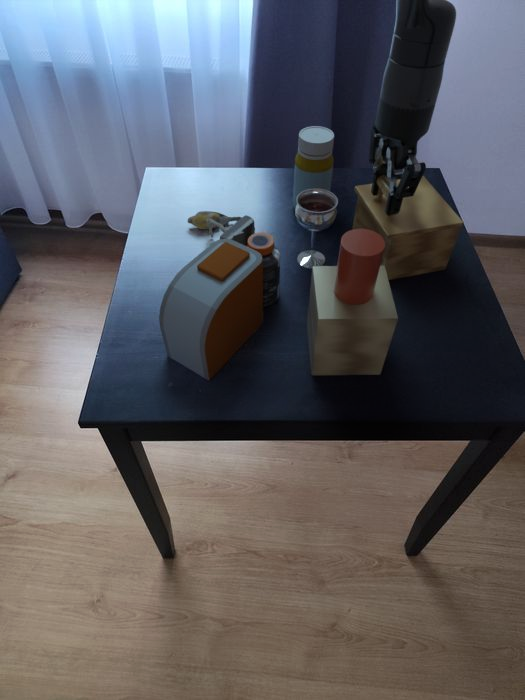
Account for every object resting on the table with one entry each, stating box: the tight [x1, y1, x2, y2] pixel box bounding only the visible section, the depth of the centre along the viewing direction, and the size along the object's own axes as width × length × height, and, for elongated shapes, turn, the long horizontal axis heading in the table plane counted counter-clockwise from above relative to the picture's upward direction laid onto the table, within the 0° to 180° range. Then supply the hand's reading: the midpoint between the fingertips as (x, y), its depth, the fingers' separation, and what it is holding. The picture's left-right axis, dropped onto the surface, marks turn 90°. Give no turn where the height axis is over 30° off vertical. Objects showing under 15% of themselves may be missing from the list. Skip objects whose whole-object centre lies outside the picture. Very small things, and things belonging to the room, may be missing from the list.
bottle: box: [292, 125, 335, 211], centre depth 89 cm, size 7×7×15 cm
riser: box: [306, 265, 399, 376], centre depth 67 cm, size 10×10×12 cm
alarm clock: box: [158, 238, 264, 381], centre depth 68 cm, size 15×8×14 cm, turn 145°
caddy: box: [351, 196, 462, 281], centre depth 83 cm, size 12×14×9 cm
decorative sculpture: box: [187, 210, 256, 246], centre depth 85 cm, size 16×10×7 cm, turn 31°
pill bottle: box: [247, 232, 281, 307], centre depth 75 cm, size 6×6×11 cm
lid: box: [353, 175, 464, 239], centre depth 77 cm, size 13×14×5 cm
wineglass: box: [294, 189, 339, 269], centre depth 80 cm, size 7×7×12 cm
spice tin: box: [334, 229, 385, 305], centre depth 59 cm, size 5×5×8 cm
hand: (384, 203), depth 77 cm, fingers closed on lid, 5 cm apart
